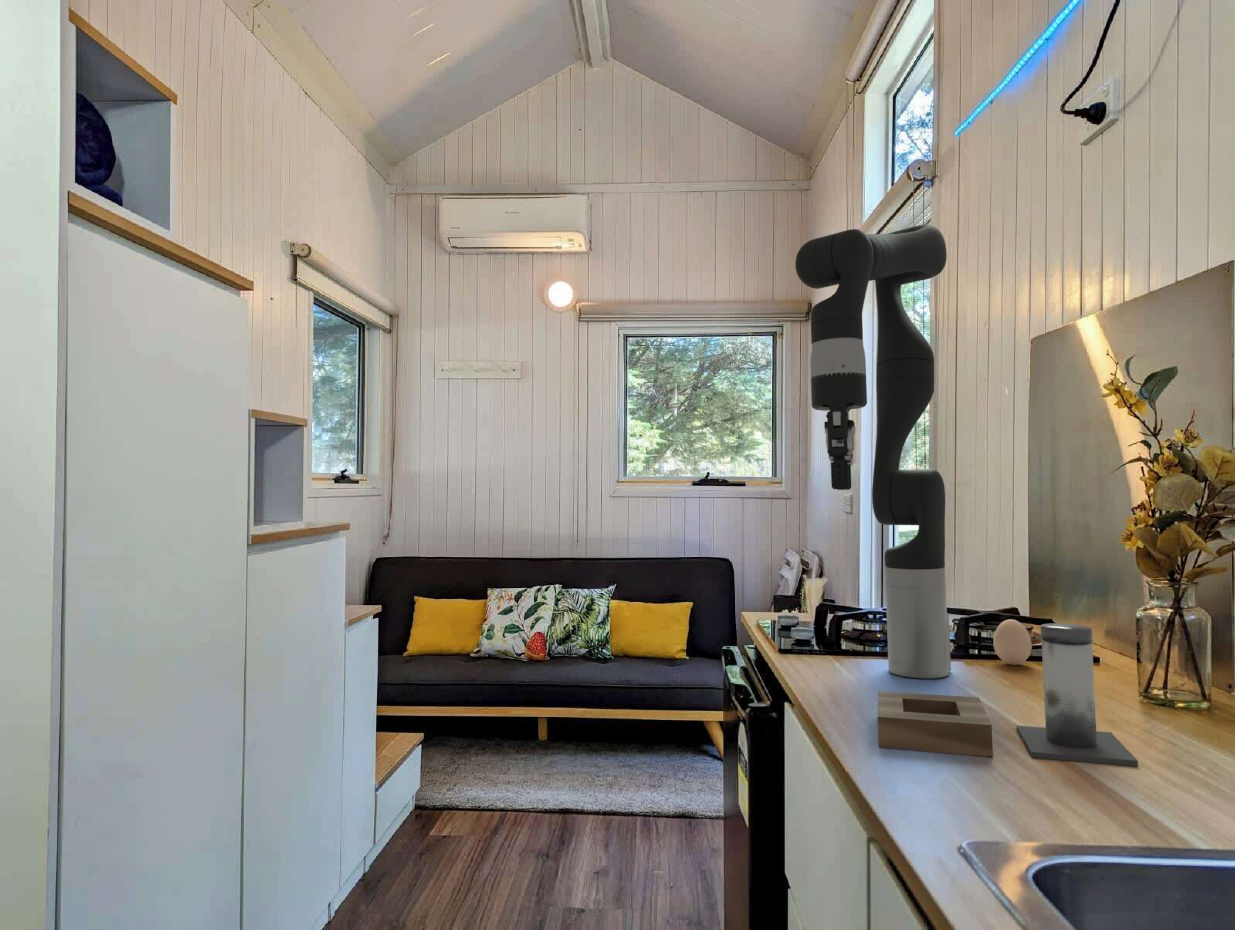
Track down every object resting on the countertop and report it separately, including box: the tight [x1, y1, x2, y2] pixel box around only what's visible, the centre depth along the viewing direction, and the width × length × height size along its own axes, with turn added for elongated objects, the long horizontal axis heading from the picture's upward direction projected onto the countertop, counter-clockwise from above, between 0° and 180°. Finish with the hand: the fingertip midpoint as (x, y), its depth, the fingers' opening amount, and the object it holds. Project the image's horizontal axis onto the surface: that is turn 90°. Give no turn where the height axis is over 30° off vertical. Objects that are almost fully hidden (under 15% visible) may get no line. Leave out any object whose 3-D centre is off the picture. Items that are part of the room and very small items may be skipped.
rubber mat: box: [1016, 725, 1139, 767], centre depth 86 cm, size 10×10×1 cm
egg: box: [992, 618, 1033, 666], centre depth 127 cm, size 6×6×8 cm
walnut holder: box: [877, 690, 994, 758], centre depth 91 cm, size 12×12×4 cm
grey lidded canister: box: [1040, 622, 1097, 749], centre depth 86 cm, size 5×5×13 cm
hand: (841, 489), depth 105 cm, fingers open, 8 cm apart
